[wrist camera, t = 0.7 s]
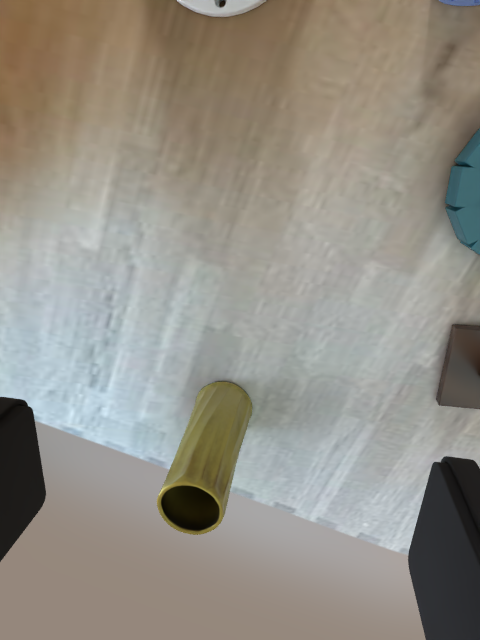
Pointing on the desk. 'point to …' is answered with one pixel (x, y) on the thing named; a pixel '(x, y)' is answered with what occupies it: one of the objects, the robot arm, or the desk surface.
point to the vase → (206, 460)
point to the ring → (466, 195)
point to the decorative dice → (461, 2)
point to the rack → (461, 369)
